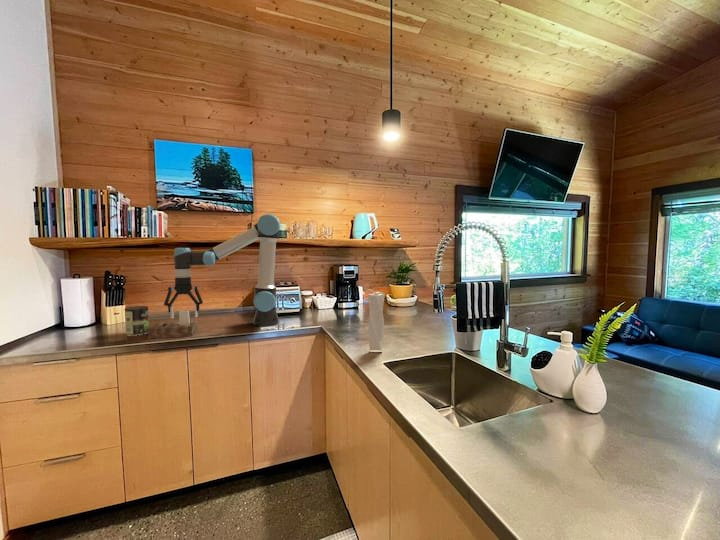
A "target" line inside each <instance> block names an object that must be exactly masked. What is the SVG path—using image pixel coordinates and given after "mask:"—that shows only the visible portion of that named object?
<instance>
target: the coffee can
mask: <svg viewBox="0 0 720 540" xmlns="http://www.w3.org/2000/svg"><path fill="white" fill-rule="evenodd" d="M124 318H125V319H124V320H125V336H126V335H127V336H126V337H137V335H139V336H143V334H144V335H148V329H149V328H150V327H149V324H150V323H149V306H146V305H138V306H137V305H135V306H130V307H125V308H124Z"/></svg>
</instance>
